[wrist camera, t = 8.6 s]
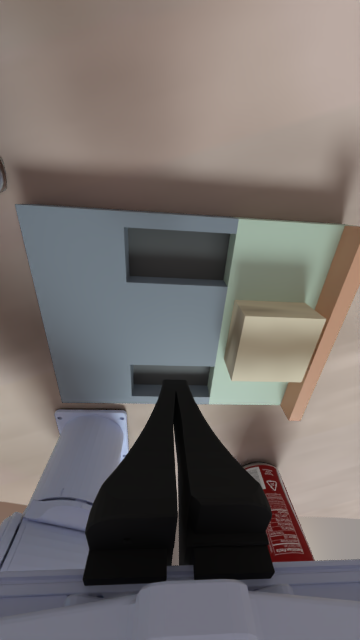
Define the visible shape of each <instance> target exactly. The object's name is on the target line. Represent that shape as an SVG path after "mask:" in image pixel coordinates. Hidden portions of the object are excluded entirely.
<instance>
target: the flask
mask: <svg viewBox="0 0 360 640" xmlns="http://www.w3.org/2000/svg"><path fill="white" fill-rule="evenodd" d="M4 190H6V172H5V169H4V163H3V161H2V158H0V192H2V191H4Z"/></svg>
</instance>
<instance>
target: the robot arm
mask: <svg viewBox="0 0 360 640" xmlns="http://www.w3.org/2000/svg"><path fill="white" fill-rule="evenodd" d="M55 418H56V422H57V426H58V430H59V433H60V437H59V439H58V441H57V443H56V445H55V448H54V450H53V452H52V454H51V456H50V458H49V461H48V463H47V465H46V467H45V469H44V471H43V474H42V476H41V478H40V480H39V482H38V484H37V487H36V489H35V491H34V493H33V495H32V497H31V500H30V502H29V504H28V506H27V508H26V509H25V511H24V512H23V514H21V513H19V512H15V513H13V514H12V516H9V517H8V518H6V519H5V520H4V521H3V522H2V524H1V526H0V640H360V559H353V560H324V561H295V562H272V560H271V556H270V553H269V549H268V546H267V545H269V540H268V537H267V533H266V529H267V527H268V525H269V523H270V521H271V518H272V511H271V508H270V505H269V502H268V500H267V497H266V495H265V493H264V491H263V489H262V487H261V485H260V483H259V482H258V481H257V480H255V479H254V478H253V477H252V476H251V475H250V474H249V473H248V472H247V471H246V470H245V469H244V468H243V467H242V466H241V465H240V464H239V463H238V462H237V460H236V459H235V458H234V457H233V456H232V455H231V454H230V452H229V451H228V450H227V449H226V448H225V447H224V445H223V444H222V443H221V442H220V440H219V439H218V438H217V436H216V435H215V434H214V432H213V431H212V429H211V428H210V426H209V425H208V423H207V422H206V420H205V418H204V417H203V415H202V413H201V411H200V410H199V408H198V406H197V404H196V402H195V400H194V398H193V396H192V393H191V391H190V388H189V386H188V382H187V381H186V380H169V379H165V380H163V382H162V388H161V391H160V394H159V397H158V400H157V402H156V405H155V407H154V410H153V412H152V414H151V416H150V418H149V420H148V422H147V424H146V426H145V427H144V429H143V431H142V432H141V434H140V436H139V437H138V439H137V440H136V442H135V443H134V445H133V446H132V448H131V449H130V451H129V444H128V429H127V413H126V411H124V410H56V412H55ZM173 424H174V434H175V443H176V453H177V463H178V501H179V566H171V563H172V555H173V548H174V543H175V542H174V541H175V533H176V526H177V517H178V513H177V490H176V475H175V457H174V435H173Z"/></svg>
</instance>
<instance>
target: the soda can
mask: <svg viewBox="0 0 360 640" xmlns="http://www.w3.org/2000/svg"><path fill="white" fill-rule="evenodd" d="M243 468H244V469H245V470H246V471H247V472H248V473H249V474H250V475H251V476H252V477H253V478H254V479H255V480H257V481H258V482H259V483H260V485H261V487H262V489H263V491H264V493H265V495H266V497H267V500H268V502H269V505H270V508H271V511H272V518H271V521H270V523H269V525H268V527H267V529H266V533H267V537H268V540H269V545H267V546H268V549H269V553H270V556H271V560H272V562H295V561H315V560H314V557H313V555H312V552H311V550H310V547H309V545H308V542H307V540H306V537H305V535H304V533H303V530H302V528H301V525H300V523H299V520H298V518H297V515H296V513H295V510H294V508H293V505H292V503H291V500H290V498H289V495H288V493H287V490H286V488H285V485H284V483H283V480H282V478H281V476H280V473H279V471H278V469H277V468H276V467H274V466H273V465H270V464H266V463H261V462H255V463H250V464H247V465H245V466H243Z"/></svg>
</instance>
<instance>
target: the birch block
mask: <svg viewBox="0 0 360 640" xmlns="http://www.w3.org/2000/svg"><path fill="white" fill-rule="evenodd" d="M325 322H326V318H324V317H323V316H322V315H320V314H319V313H318V312H316V311H315V310H314V309H312V308H311V307H310V306H309V305H307V304H306V303H299V302H275V301H251V300H235V301H234V306H233V311H232V317H231V322H230V328H229V333H228V339H227V344H226V350H225V355H224V361H225V364H226V367H227V370H228V373H229V375H230V378H231V381H251V382H302V380H303V377H304V375H305V372H306V370H307V367H308V365H309V362H310V360H311V357H312V354H313V352H314V349H315V347H316V344H317V342H318V339H319V337H320V334H321V332H322V329H323V327H324V324H325Z"/></svg>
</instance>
